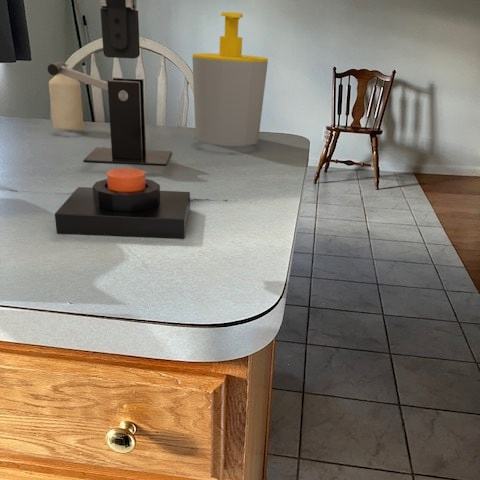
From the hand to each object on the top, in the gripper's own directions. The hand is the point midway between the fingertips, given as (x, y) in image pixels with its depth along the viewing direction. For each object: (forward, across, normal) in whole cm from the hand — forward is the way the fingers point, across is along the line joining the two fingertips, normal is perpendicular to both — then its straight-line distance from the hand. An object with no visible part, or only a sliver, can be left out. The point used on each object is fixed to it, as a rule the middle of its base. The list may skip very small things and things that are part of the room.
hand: (122, 56), depth 52 cm
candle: (+16, -50, -19) cm, 56 cm away
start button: (+13, 0, 0) cm, 13 cm away
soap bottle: (+17, -45, +11) cm, 49 cm away
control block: (+16, 0, 0) cm, 17 cm away
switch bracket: (+16, -27, -4) cm, 32 cm away
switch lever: (+6, -27, -9) cm, 29 cm away
